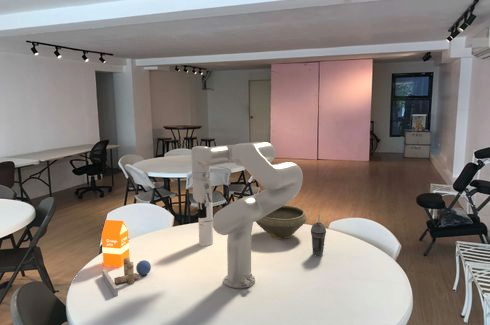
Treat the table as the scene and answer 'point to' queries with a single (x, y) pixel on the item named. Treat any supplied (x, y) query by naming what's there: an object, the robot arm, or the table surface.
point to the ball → (143, 267)
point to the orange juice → (115, 243)
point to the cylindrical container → (206, 228)
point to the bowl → (283, 222)
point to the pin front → (123, 279)
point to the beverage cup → (318, 238)
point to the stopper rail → (110, 282)
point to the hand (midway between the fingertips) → (202, 217)
